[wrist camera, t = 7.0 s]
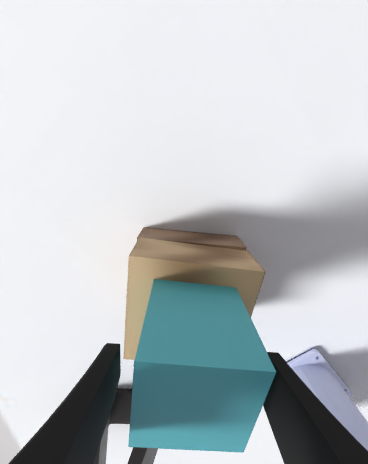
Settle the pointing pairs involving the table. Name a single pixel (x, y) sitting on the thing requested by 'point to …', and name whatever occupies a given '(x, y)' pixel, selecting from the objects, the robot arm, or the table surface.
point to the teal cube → (197, 370)
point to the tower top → (184, 276)
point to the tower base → (193, 238)
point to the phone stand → (121, 414)
